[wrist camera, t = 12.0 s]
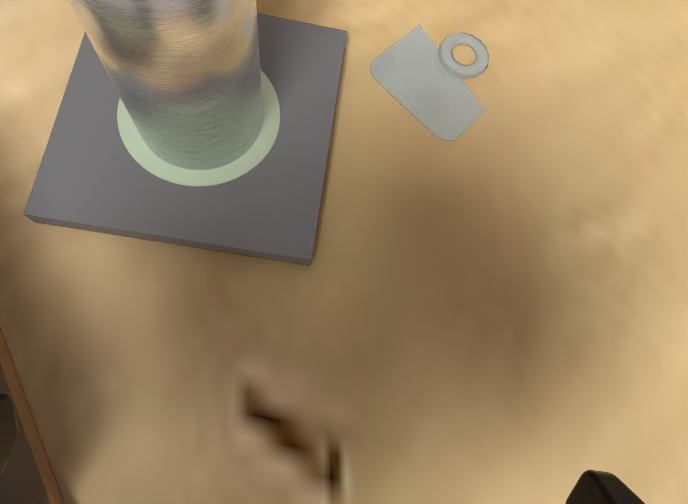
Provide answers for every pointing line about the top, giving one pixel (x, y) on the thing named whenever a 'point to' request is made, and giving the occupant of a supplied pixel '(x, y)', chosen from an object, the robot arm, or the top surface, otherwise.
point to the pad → (200, 185)
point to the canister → (183, 73)
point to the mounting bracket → (433, 80)
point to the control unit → (24, 449)
